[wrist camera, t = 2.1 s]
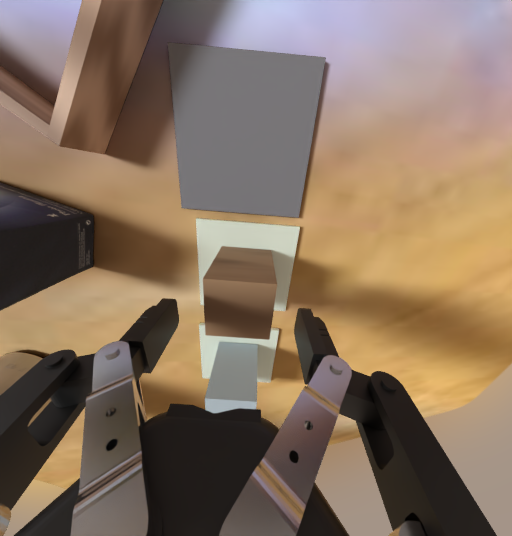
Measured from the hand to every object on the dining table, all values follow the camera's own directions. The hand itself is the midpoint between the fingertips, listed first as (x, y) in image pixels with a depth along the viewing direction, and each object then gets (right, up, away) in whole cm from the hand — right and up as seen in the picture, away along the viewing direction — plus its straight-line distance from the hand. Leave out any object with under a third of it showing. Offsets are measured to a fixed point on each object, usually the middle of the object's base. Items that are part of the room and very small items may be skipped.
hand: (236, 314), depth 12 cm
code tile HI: (-1, -9, +13) cm, 16 cm away
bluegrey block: (-1, -9, +13) cm, 16 cm away
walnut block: (0, +3, +8) cm, 8 cm away
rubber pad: (0, +13, +3) cm, 14 cm away
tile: (0, +3, +8) cm, 9 cm away
